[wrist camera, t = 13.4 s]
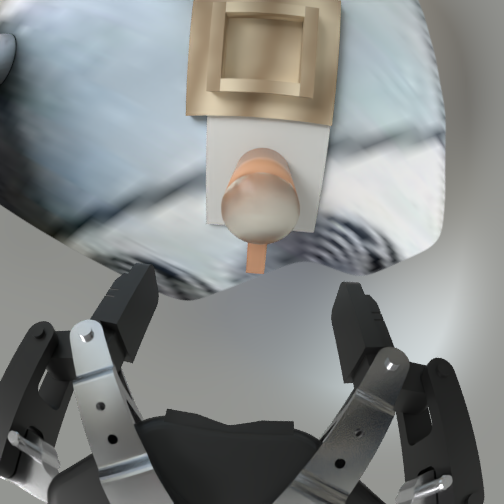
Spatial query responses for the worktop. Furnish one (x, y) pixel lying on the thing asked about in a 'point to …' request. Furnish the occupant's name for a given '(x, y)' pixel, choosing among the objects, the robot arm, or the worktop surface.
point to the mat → (272, 137)
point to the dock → (264, 59)
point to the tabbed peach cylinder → (260, 203)
